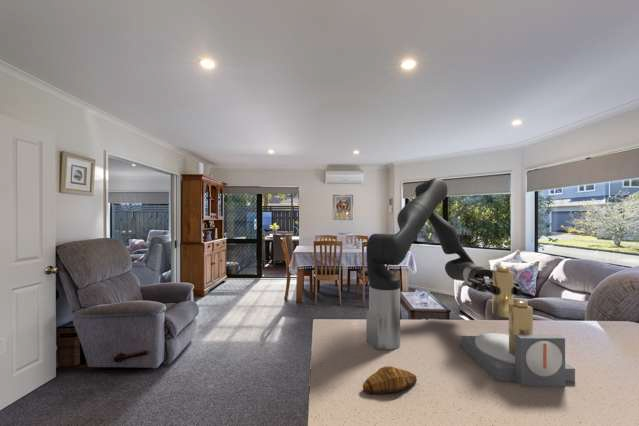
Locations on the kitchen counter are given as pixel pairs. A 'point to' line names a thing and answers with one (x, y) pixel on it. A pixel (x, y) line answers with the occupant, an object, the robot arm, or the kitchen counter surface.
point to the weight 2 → (519, 321)
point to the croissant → (389, 381)
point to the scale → (522, 358)
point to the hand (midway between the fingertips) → (508, 291)
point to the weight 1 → (503, 291)
